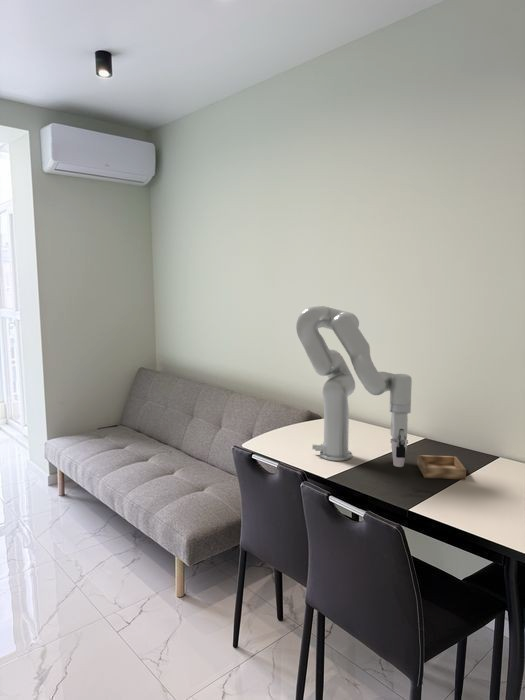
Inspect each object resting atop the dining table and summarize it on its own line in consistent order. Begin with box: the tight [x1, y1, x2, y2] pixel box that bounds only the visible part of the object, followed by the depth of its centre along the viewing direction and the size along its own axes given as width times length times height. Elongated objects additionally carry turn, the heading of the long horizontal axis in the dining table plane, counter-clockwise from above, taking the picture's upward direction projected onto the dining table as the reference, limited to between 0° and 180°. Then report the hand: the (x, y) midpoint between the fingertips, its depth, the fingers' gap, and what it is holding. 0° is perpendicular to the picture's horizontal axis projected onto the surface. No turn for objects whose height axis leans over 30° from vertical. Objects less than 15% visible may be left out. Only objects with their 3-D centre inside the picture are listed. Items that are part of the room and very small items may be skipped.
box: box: [416, 454, 467, 480], centre depth 182 cm, size 14×14×4 cm
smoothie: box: [390, 437, 409, 468], centre depth 188 cm, size 6×6×14 cm
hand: (398, 453), depth 188 cm, fingers open, 8 cm apart
